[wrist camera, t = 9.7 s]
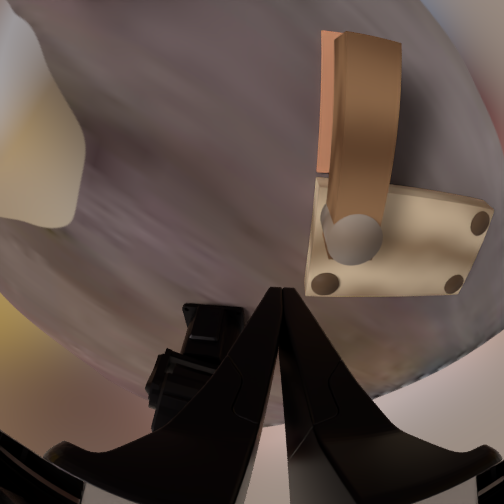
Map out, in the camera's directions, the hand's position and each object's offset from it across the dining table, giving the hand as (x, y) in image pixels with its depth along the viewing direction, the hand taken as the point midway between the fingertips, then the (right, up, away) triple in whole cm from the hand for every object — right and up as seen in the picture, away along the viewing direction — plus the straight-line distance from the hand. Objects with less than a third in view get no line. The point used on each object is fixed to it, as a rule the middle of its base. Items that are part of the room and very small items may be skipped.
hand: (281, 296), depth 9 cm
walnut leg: (+5, +8, +6) cm, 11 cm away
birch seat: (+12, +3, +12) cm, 18 cm away
